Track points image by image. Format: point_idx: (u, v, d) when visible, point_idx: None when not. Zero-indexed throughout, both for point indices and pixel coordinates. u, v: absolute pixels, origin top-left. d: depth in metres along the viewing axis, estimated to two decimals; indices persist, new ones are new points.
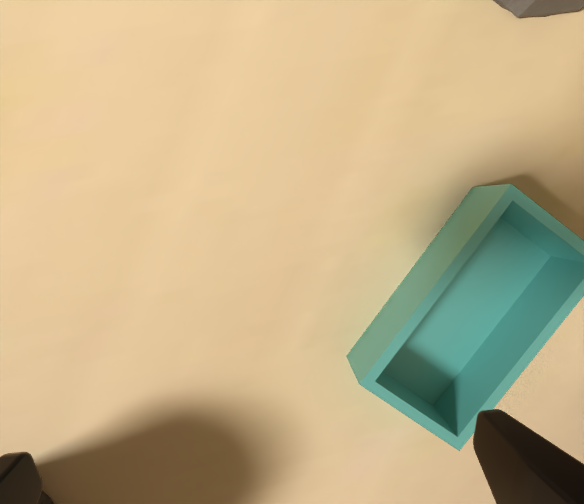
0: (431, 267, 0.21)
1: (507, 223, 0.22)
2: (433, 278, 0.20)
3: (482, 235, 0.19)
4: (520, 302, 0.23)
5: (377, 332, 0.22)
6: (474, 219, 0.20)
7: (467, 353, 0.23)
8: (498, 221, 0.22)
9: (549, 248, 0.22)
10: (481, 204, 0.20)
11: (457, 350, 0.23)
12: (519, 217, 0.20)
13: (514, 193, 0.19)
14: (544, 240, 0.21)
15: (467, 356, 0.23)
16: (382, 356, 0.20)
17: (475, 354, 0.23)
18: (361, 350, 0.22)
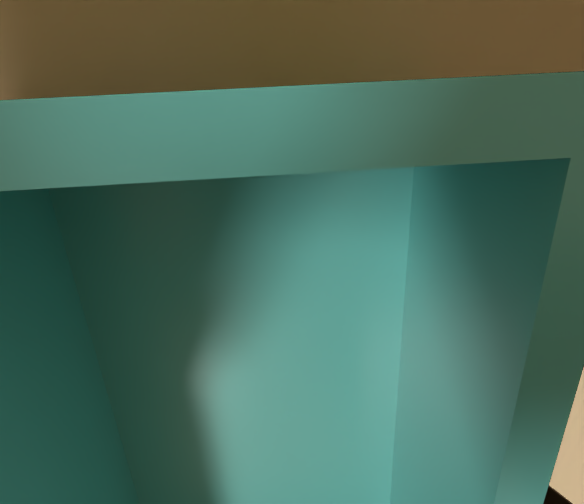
0: None
1: None
2: None
3: None
4: (411, 332, 0.07)
5: None
6: None
7: (374, 483, 0.09)
8: None
9: None
10: None
11: (348, 491, 0.09)
12: None
13: None
14: None
15: (380, 487, 0.09)
16: None
17: (392, 482, 0.08)
18: None
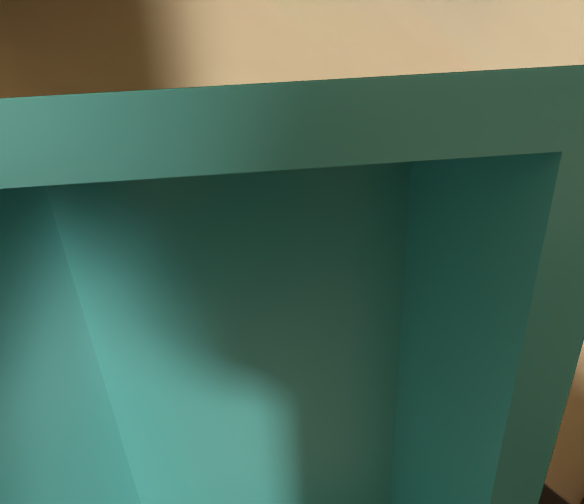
0: None
1: None
2: None
3: None
4: (409, 328, 0.07)
5: None
6: None
7: (374, 480, 0.09)
8: None
9: None
10: None
11: (348, 488, 0.09)
12: None
13: None
14: None
15: (380, 484, 0.09)
16: None
17: (392, 478, 0.08)
18: None
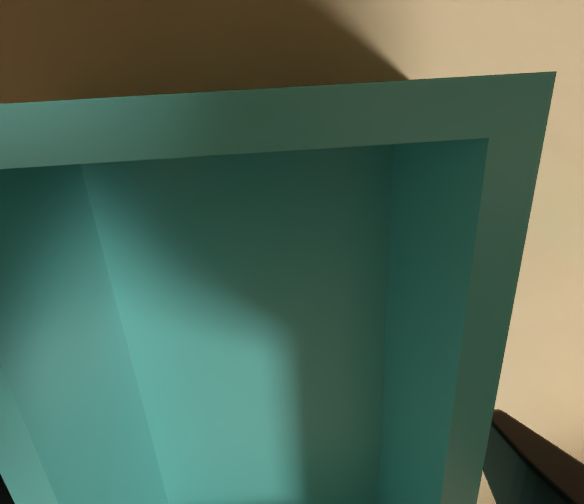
0: None
1: None
2: None
3: None
4: (393, 298, 0.08)
5: None
6: None
7: (365, 440, 0.10)
8: None
9: None
10: None
11: (342, 447, 0.10)
12: None
13: None
14: None
15: (370, 444, 0.10)
16: None
17: (381, 437, 0.09)
18: None
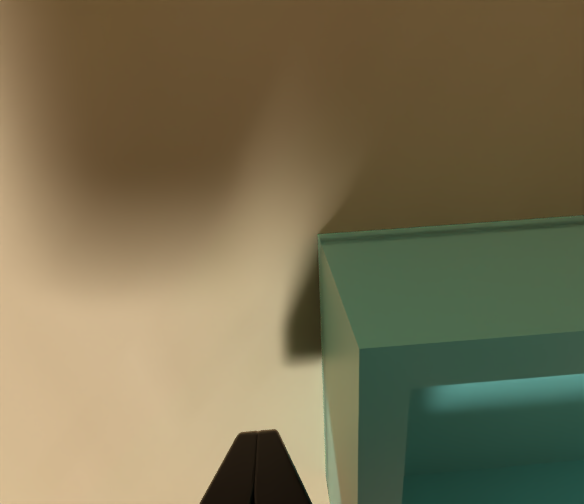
0: None
1: None
2: None
3: None
4: None
5: (488, 257, 0.06)
6: None
7: (508, 455, 0.09)
8: None
9: None
10: None
11: (506, 437, 0.09)
12: None
13: None
14: None
15: (502, 460, 0.09)
16: (535, 342, 0.04)
17: (521, 471, 0.09)
18: (393, 257, 0.06)
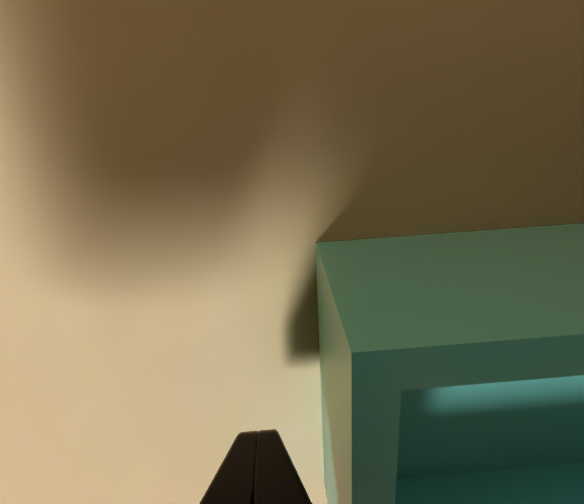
0: None
1: None
2: None
3: None
4: None
5: (479, 264, 0.06)
6: None
7: (504, 458, 0.09)
8: None
9: None
10: None
11: (501, 441, 0.09)
12: None
13: None
14: None
15: (498, 463, 0.10)
16: (520, 346, 0.04)
17: (517, 474, 0.09)
18: (387, 264, 0.06)
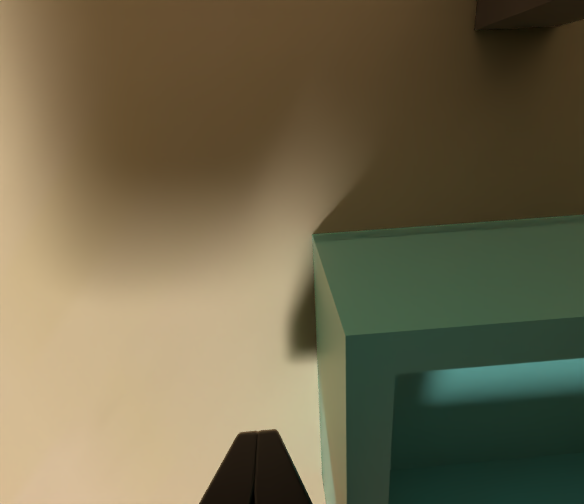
0: None
1: None
2: None
3: None
4: None
5: (474, 253, 0.06)
6: None
7: (499, 449, 0.10)
8: None
9: None
10: None
11: (497, 431, 0.09)
12: None
13: None
14: None
15: (494, 453, 0.10)
16: (512, 329, 0.04)
17: (512, 464, 0.10)
18: (383, 253, 0.07)
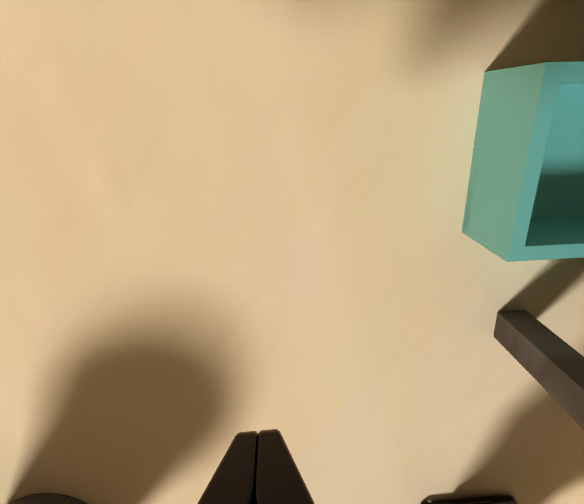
0: None
1: None
2: None
3: None
4: None
5: None
6: None
7: (564, 210, 0.17)
8: None
9: None
10: None
11: (564, 197, 0.17)
12: None
13: None
14: None
15: (561, 213, 0.17)
16: None
17: (571, 218, 0.17)
18: None
